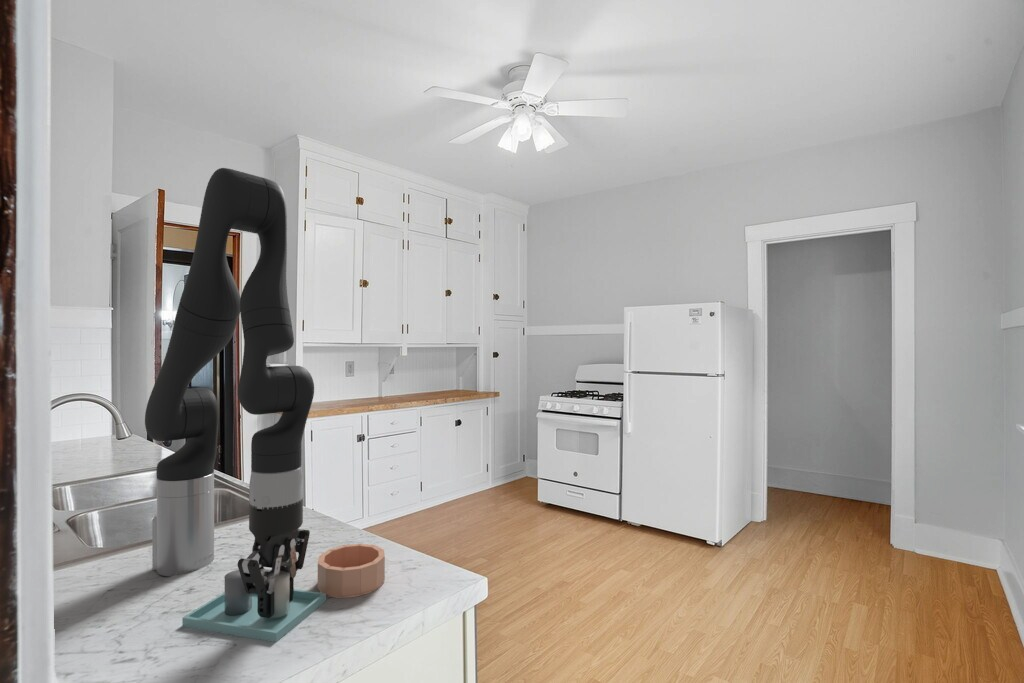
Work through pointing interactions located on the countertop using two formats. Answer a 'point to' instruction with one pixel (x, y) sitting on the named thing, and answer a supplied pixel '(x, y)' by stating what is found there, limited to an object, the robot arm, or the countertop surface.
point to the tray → (254, 617)
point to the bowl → (351, 570)
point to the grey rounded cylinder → (236, 595)
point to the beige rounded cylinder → (281, 594)
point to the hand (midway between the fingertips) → (275, 608)
